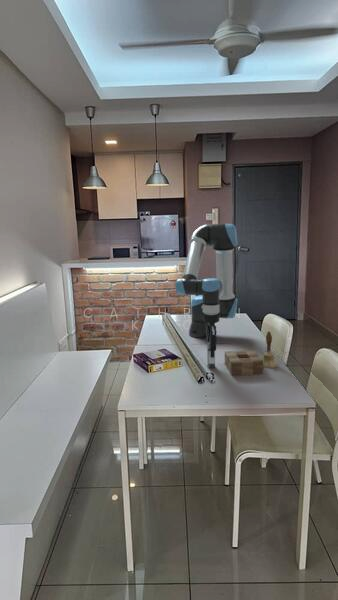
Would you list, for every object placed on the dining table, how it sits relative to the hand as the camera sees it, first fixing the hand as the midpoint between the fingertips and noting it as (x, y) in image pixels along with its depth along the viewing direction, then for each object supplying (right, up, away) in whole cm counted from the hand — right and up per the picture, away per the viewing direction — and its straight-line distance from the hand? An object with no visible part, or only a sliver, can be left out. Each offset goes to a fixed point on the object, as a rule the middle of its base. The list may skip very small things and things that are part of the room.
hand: (211, 361), depth 170 cm
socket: (+14, -3, -2) cm, 15 cm away
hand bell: (+27, -2, +1) cm, 27 cm away
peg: (0, -3, +1) cm, 3 cm away
